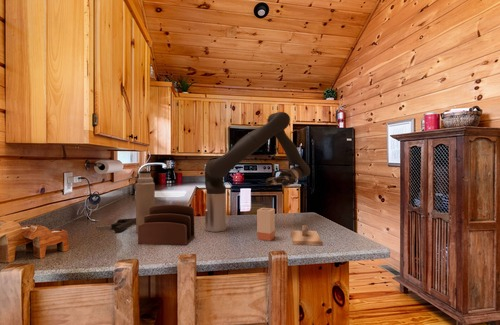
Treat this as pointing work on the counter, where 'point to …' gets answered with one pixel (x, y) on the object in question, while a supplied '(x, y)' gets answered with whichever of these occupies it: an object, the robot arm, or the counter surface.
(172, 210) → the letter holder
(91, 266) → the counter surface
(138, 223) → the thermos bottle
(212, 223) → the robot arm
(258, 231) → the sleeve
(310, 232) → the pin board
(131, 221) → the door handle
